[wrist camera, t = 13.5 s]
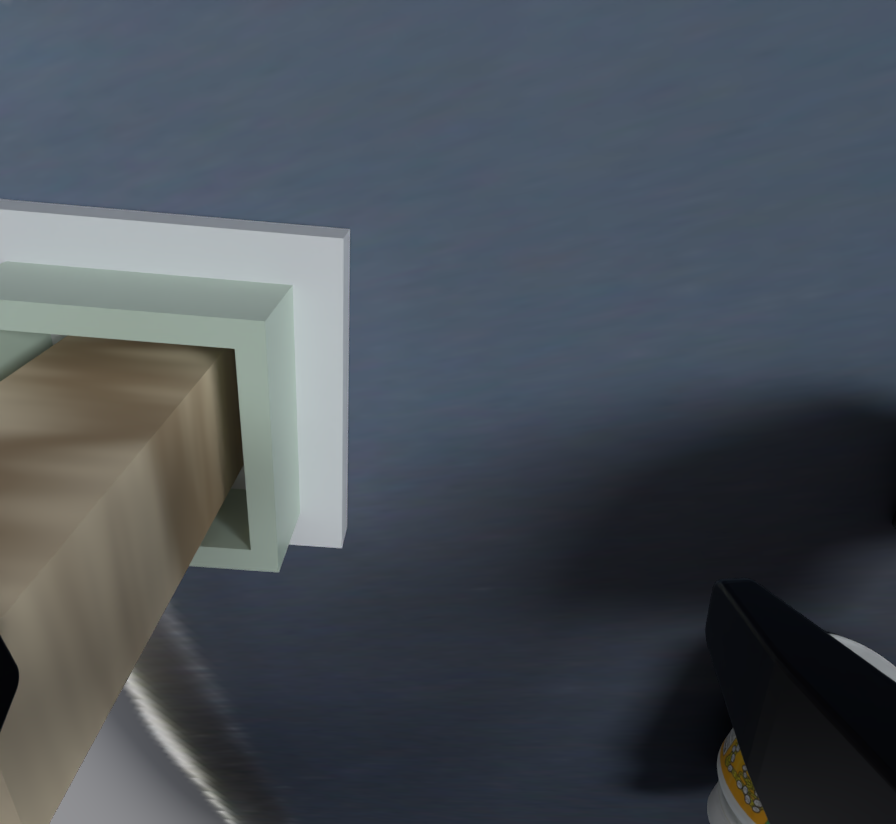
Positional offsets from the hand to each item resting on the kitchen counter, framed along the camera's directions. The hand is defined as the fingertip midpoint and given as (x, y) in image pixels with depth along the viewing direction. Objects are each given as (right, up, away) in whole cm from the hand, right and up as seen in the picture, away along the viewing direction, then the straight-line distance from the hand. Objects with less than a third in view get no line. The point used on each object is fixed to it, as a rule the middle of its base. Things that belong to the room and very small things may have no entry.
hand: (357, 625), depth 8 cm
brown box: (-8, +3, +12) cm, 15 cm away
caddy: (-8, +4, +13) cm, 16 cm away
